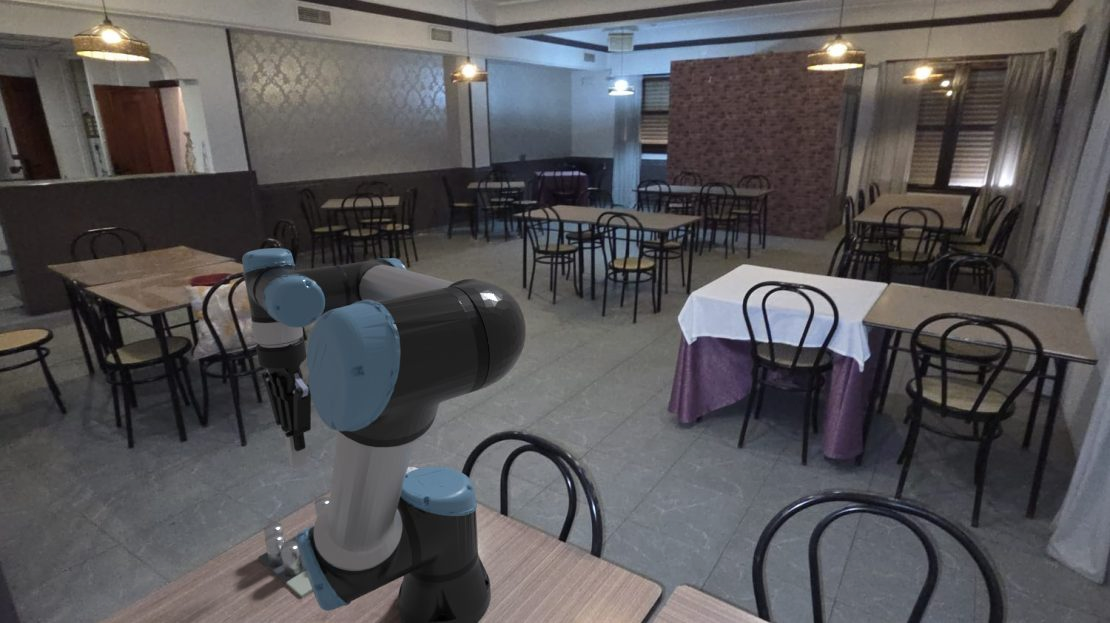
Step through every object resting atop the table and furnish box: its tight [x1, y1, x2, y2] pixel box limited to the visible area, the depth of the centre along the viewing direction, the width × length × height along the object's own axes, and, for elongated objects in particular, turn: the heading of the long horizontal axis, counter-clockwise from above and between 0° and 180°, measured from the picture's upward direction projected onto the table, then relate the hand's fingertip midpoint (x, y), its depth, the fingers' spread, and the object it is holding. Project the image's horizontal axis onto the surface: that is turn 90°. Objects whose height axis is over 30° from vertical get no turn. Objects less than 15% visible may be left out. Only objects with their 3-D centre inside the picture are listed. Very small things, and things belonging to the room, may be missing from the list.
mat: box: [258, 535, 313, 598], centre depth 109 cm, size 15×16×1 cm
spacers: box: [263, 496, 330, 577], centre depth 109 cm, size 10×15×5 cm
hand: (298, 463), depth 106 cm, fingers closed
